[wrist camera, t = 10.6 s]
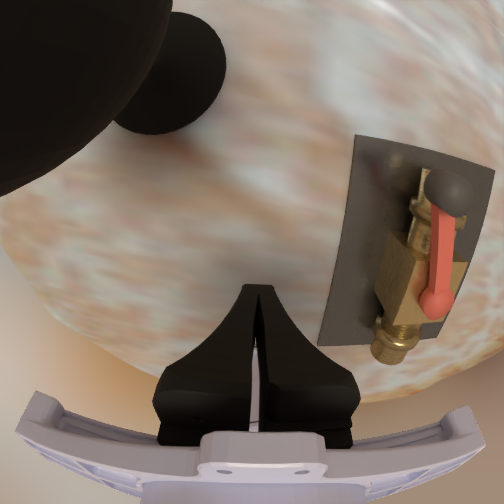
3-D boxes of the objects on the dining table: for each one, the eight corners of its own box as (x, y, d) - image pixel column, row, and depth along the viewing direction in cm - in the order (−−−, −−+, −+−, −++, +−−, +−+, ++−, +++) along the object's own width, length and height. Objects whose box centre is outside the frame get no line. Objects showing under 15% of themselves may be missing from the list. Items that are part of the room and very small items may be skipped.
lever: (445, 304, 19) (459, 323, 17) (417, 315, 19) (430, 335, 17) (452, 164, 14) (475, 174, 12) (418, 170, 14) (440, 181, 12)
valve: (435, 335, 29) (453, 367, 24) (317, 343, 29) (325, 384, 24) (492, 169, 19) (530, 186, 14) (355, 134, 19) (385, 142, 14)
